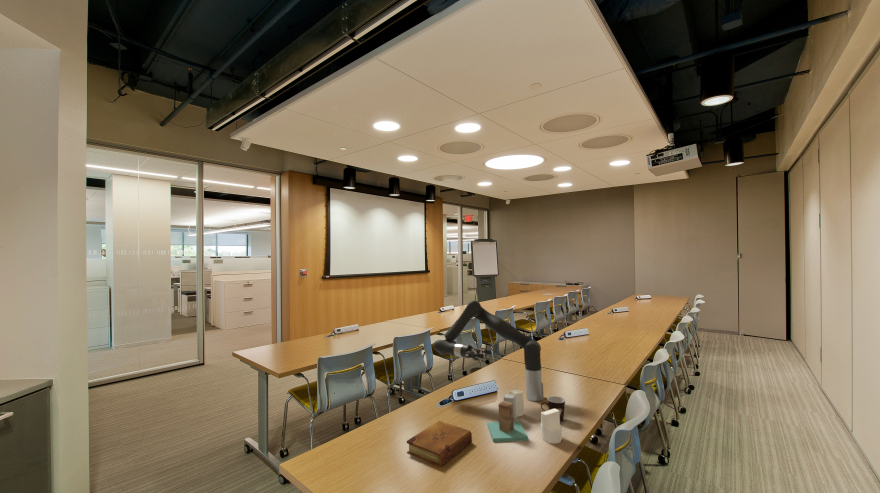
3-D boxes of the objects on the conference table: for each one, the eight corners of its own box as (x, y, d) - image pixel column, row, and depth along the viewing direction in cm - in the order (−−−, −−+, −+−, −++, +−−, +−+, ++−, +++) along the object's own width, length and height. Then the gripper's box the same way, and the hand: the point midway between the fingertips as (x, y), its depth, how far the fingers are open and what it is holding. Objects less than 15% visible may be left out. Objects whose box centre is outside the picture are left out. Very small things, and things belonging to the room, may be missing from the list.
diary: (441, 469, 139) (440, 454, 139) (406, 454, 150) (406, 440, 151) (472, 443, 157) (471, 430, 158) (439, 432, 169) (439, 420, 169)
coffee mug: (566, 417, 180) (565, 397, 180) (565, 424, 172) (564, 403, 172) (543, 413, 185) (542, 394, 185) (540, 420, 177) (540, 400, 177)
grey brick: (505, 417, 182) (504, 393, 183) (515, 418, 180) (514, 394, 181) (504, 421, 177) (503, 397, 178) (514, 422, 176) (513, 398, 176)
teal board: (519, 424, 174) (519, 420, 174) (528, 440, 158) (527, 437, 158) (487, 425, 173) (487, 422, 173) (493, 441, 157) (492, 438, 158)
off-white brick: (517, 411, 188) (516, 388, 189) (523, 414, 184) (522, 391, 184) (510, 413, 186) (509, 390, 187) (516, 417, 182) (515, 393, 182)
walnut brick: (504, 425, 169) (503, 400, 170) (513, 428, 166) (512, 403, 167) (499, 429, 165) (498, 404, 166) (508, 432, 162) (507, 406, 163)
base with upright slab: (551, 445, 153) (550, 417, 154) (536, 436, 161) (535, 410, 162) (566, 440, 157) (564, 413, 158) (551, 431, 165) (550, 406, 166)
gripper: (456, 346, 199) (480, 350, 189) (469, 341, 210) (493, 344, 201) (456, 360, 199) (481, 364, 189) (470, 354, 210) (493, 358, 200)
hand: (487, 354), depth 195 cm, fingers open, 8 cm apart
